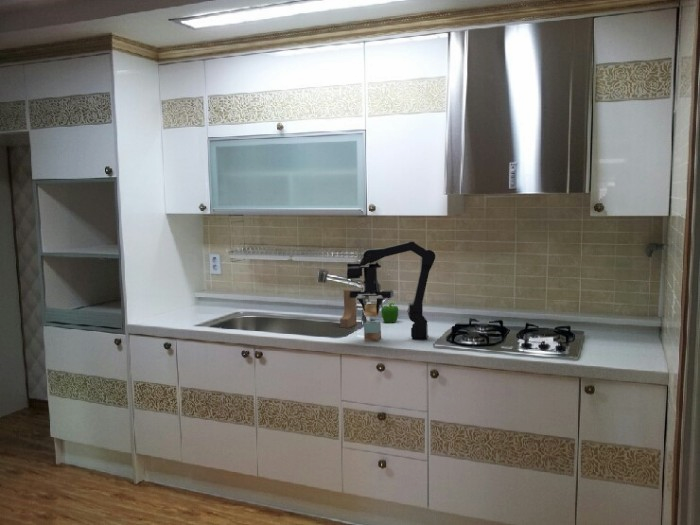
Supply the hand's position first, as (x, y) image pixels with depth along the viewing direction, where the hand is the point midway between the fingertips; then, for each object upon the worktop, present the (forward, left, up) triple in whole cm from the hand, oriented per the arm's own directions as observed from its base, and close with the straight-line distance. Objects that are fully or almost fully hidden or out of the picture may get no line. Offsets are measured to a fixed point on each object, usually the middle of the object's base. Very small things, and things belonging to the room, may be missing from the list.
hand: (371, 313), depth 272 cm
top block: (0, 0, -8) cm, 8 cm away
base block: (0, 0, -12) cm, 12 cm away
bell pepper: (+2, -40, -12) cm, 42 cm away
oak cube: (0, 0, -1) cm, 1 cm away
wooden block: (+20, -28, -12) cm, 37 cm away
